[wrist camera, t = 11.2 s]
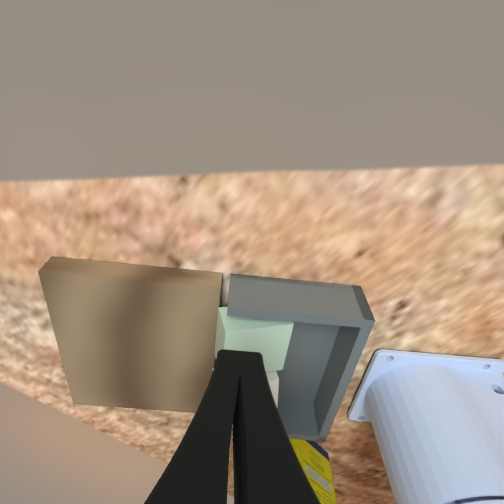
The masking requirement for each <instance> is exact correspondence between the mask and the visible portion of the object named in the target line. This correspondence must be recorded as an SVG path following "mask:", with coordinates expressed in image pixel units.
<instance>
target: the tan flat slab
mask: <svg viewBox="0 0 504 504" xmlns="http://www.w3.org/2000/svg"><path fill="white" fill-rule="evenodd" d="M38 273H39V277H40V280H41V284H42V288H43V292H44V295H45V299H46V303H47V307H48V310H49V314H50V318H51V322H52V325H53V329H54V333H55V337H56V340H57V344H58V348H59V352H60V355H61V359H62V363H63V367H64V370H65V374H66V378H67V382H68V385H69V389H70V393H71V397H72V401H73V404H82V405H95V406H109V407H123V408H137V409H151V410H165V411H178V412H192V413H196V412H197V409H198V407H199V405H200V403H201V400H202V398H203V396H204V393H205V391H206V389H207V386H208V384H209V381H210V378H211V375H212V372H213V368H214V366H215V342H216V330H217V318H218V307H220V298H221V286H222V275H223V273H218V272H207V271H197V270H186V269H176V268H166V267H155V266H145V265H134V264H124V263H113V262H103V261H93V260H82V259H72V258H61V257H51V258H50V259H49V260H48V261H47V262H46V263H45V265H44V266H43V267H42V268H41V269H40V270H39V271H38Z"/></svg>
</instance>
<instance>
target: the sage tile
mask: <svg viewBox="0 0 504 504" xmlns="http://www.w3.org/2000/svg"><path fill="white" fill-rule="evenodd" d="M227 310H228V307H218V318H217V330H216V342H215V358H217V353H218V351H219V350H221V349H226V350H238V351H250V352H260V353H261V354H262V356H263V362H264V367H265V371H266V372H272V371H278V370H283V366H284V362H285V358H286V354H287V350H288V346H289V342H290V338H291V334H292V329H293V325H294V323H293V322H292V321H281V320H270V319H259V318H247V317H236V316H227Z"/></svg>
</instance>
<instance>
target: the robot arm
mask: <svg viewBox="0 0 504 504" xmlns="http://www.w3.org/2000/svg"><path fill="white" fill-rule="evenodd" d="M503 372H504V360H501V359H491V358H479V357H467V356H455V355H444V354H432V353H420V352H409V351H397V350H385V349H380V350H378V351H376V352H375V353H374V356H373V358H372V360H371V362H370V365H369V367H368V369H367V371H366V374H365V376H364V378H363V380H362V382H361V385H360V387H359V389H358V391H357V394H356V396H355V398H354V400H353V403H352V405H351V407H350V409H349V412H348V417H349V419H350V420H353V421H365V422H371V423H372V427H373V430H374V433H375V437H376V440H377V443H378V447H379V450H380V453H381V457H382V460H383V463H384V467H385V470H386V473H387V477H388V480H389V483H390V487H391V490H392V493H393V497H394V500H395V503H396V504H504V376H503ZM232 424H233V464H234V504H321V503H320V501H319V499H318V498H317V496H316V494H315V492H314V490H313V488H312V486H311V484H310V482H309V480H308V478H307V476H306V474H305V472H304V470H303V468H302V466H301V464H300V462H299V460H298V458H297V456H296V453H295V451H294V449H293V447H292V444H291V442H290V440H289V437H288V435H287V433H286V430H285V428H284V425H283V423H282V420H281V417H280V415H279V412H278V409H277V407H276V404H275V401H274V398H273V395H272V392H271V389H270V385H269V382H268V379H267V375H266V371H265V367H264V362H263V356H262V354H261V353H260V352H250V351H238V350H226V349H221V350H219V351H218V353H217V358H216V362H215V366H214V369H213V372H212V375H211V378H210V381H209V384H208V386H207V389H206V391H205V393H204V396H203V398H202V400H201V403H200V405H199V407H198V409H197V412H196V414H195V416H194V418H193V420H192V422H191V424H190V426H189V428H188V430H187V432H186V434H185V435H184V437H183V439H182V441H181V443H180V445H179V447H178V449H177V450H176V452H175V454H174V456H173V457H172V459H171V461H170V463H169V464H168V466H167V468H166V469H165V471H164V473H163V474H162V476H161V478H160V479H159V481H158V482H157V484H156V486H155V487H154V489H153V490H152V492H151V493H150V495H149V497H148V498H147V500H146V501H145V503H144V504H227V484H228V464H229V448H230V438H231V431H232Z"/></svg>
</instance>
